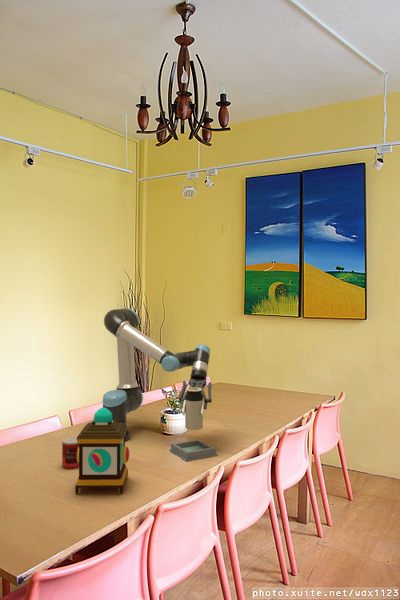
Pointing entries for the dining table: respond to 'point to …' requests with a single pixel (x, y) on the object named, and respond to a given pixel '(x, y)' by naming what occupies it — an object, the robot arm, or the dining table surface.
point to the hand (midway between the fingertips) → (192, 414)
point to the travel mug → (193, 408)
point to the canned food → (69, 453)
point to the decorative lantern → (102, 453)
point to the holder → (193, 450)
